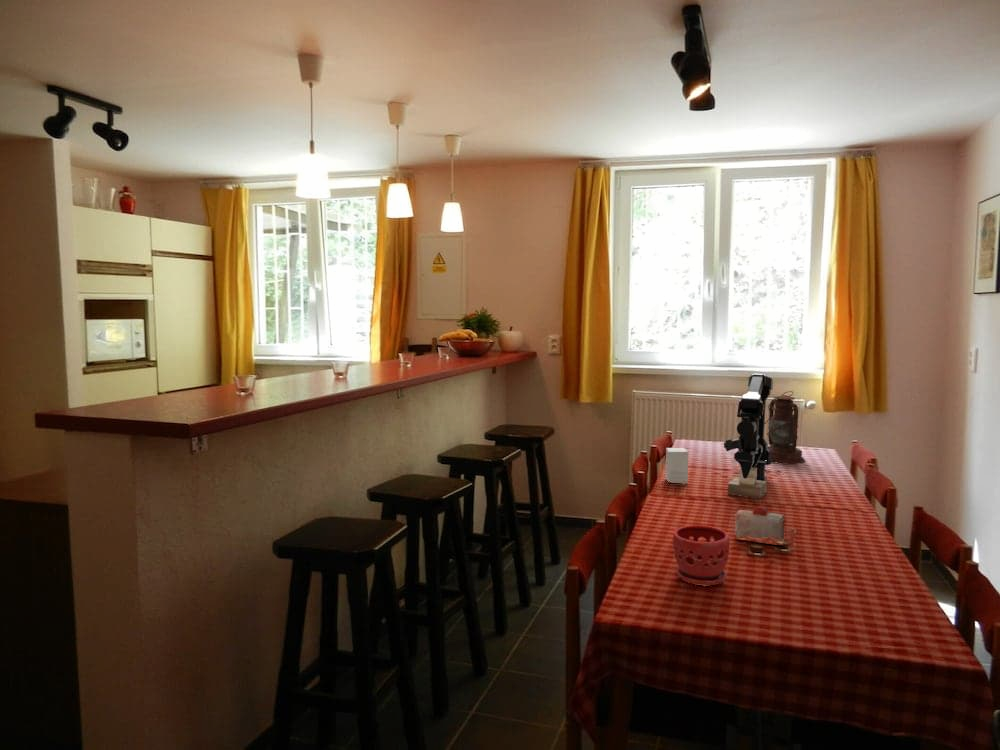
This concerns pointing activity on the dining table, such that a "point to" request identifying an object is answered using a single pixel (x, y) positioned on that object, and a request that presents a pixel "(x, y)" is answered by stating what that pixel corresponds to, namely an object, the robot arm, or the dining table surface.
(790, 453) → the lantern
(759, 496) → the beige flat block
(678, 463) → the supplement box
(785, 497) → the dining table surface
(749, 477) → the birch cube
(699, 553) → the plant pot
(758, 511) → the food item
